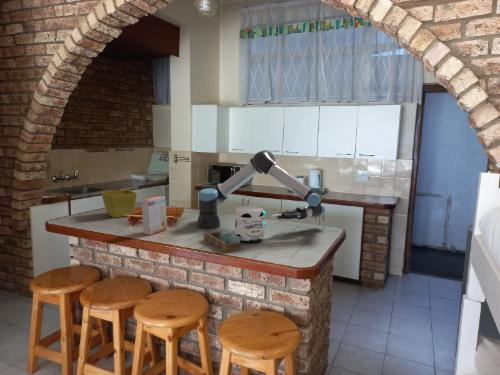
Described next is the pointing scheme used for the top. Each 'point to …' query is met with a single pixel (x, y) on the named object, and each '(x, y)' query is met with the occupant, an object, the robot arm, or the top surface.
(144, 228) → the cracker box
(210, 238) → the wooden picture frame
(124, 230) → the top surface
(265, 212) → the donuts
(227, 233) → the block
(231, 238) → the block
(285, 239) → the top surface
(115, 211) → the flower pot
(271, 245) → the top surface
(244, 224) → the milk container
